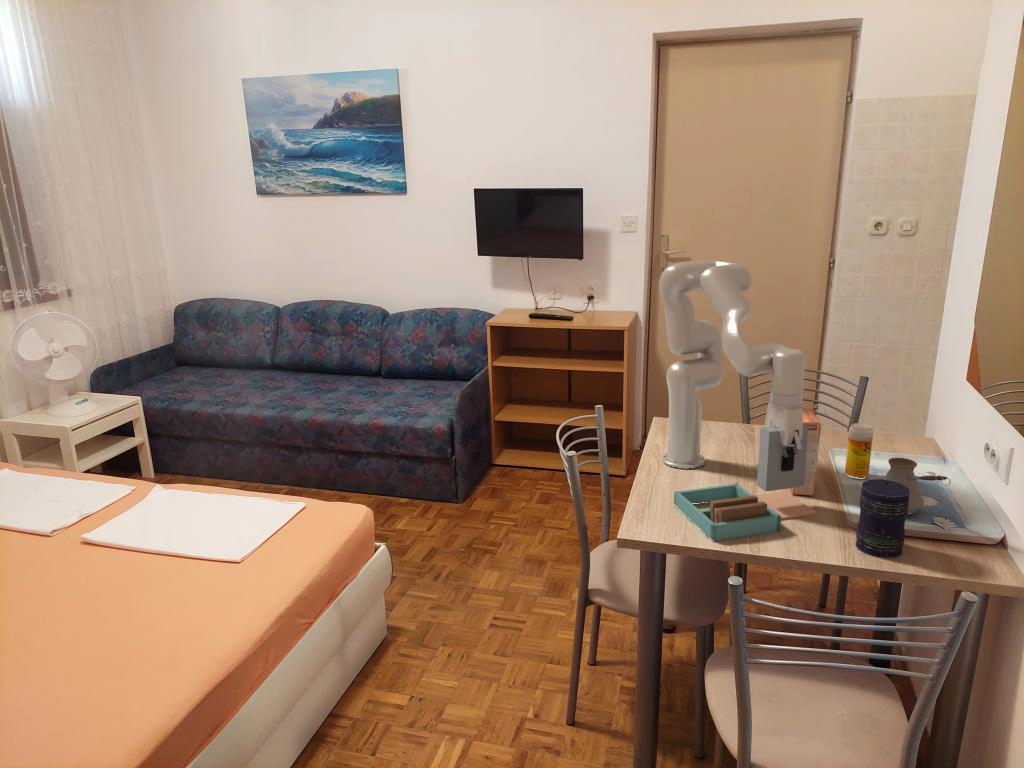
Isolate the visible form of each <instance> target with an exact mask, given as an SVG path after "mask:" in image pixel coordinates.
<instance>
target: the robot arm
mask: <svg viewBox="0 0 1024 768" xmlns="http://www.w3.org/2000/svg"><path fill="white" fill-rule="evenodd" d="M752 280H753V279H752V274H751V271H750V270H749V269H748V268H747V267H746V266H745V265H743V264H742V263H738V262H729V261H722V260H714V259H706V260H696V261H685V262H677V263H674V264H672V265H669V266H667V267H666V268H665V269H664V270H663V271H662V273H661V275H660V278H659V284H658V288H659V289H658V290H659V295H660V298H661V302H662V305H663V309H664V316H665V317H664V319H665V327H666V336H667V337H666V338H667V344H668V348H669V351H670V352H671V354H673V355H675V356H689V355H694V354H695V355H696V354H697V357H695V358H686V359H682V360H678V361H675V362H673V363H672V364H671V365H669V367H668V368H667V370H666V374H665V377H666V384H667V390H668V427H667V429H668V433H667V442H666V447H667V452H665V453H664V454H663V455H662V458H661V459H662V462H663V464H665V465H666V464H667V466H668V465H669V467H671V466H672V468H675V467H677V468H676V469H682V468H683V469H684V470H686V469H687V470H688V469H689V468H691V469H696V468H697V467H698V468H700V467H702V466H704V465H705V463H706V458H705V457H704V456H703V454H701V441H702V440H701V438H702V412H703V410H702V409H703V407H702V403H701V400H700V398H699V396H698V394H697V391H701V390H706V389H711V388H715V387H717V386H718V385H719V386H720V384H721V383H722V381H723V378H724V375H725V369H724V366H725V365H724V358H723V357H724V356H723V352H724V354H725V356H726V357H727V359H728V360H729V362H730V364H731V365H732V367H733V368H734V370H735V371H736V372H737V373H738V374H740V375H742V376H745V377H753V376H754V377H755V376H758V375H764V374H771V384H770V385H771V386H770V397H769V399H770V400H769V401H768V403H767V408H766V413H765V421H764V426H771V427H773V428H775V429H777V430H779V440H778V444H779V445H781V446H783V450H784V456H782V463H781V471H783V472H784V471H791V470H793V468H794V456H796V454H797V453H798V452H800V451H802V446H801V442H802V434H803V415H802V406H803V400H804V398H803V397H804V396H803V395H804V385H805V384H804V383H805V372H806V371H805V369H806V368H805V367H806V354H805V353H804V352H803V351H802V350H801V349H795V348H789V347H786V346H785V345H782V344H780V343H777V342H767V343H760V344H755V345H748V344H747V342H746V341H745V339H744V337H743V335H742V333H741V331H740V330H741V329H740V325H741V324H742V323H743V322H745V321H746V320H747V319H748V318H749V317H750V316H751V314H752V313H753V306H752V304H751V302H750V301H749V300H748V297H747V296H746V295H745V293H747V292H748V291H749V290H750V288H751V287H752V283H753V281H752ZM697 291H698V292H700V291H701V292H702V291H703V292H704V295H705V296H706V297H707V299H708V301H709V303H710V305H712V307H713V309H714V310H715V312H716V314H717V316H718V317H719V318H720V320H721V322H722V326H721V327H722V328H721V333H720V330H719V329H718V327H717V325H716V324H715V323H714V322H713V321H711V320H708V319H707V320H706V319H699V320H697V319H696V311H695V306H694V304H693V301H692V300H691V298H690V297H689V296H688V295H687V293H691V292H697ZM791 442H792V443H791ZM788 447H791V449H790V450H788ZM689 470H690V469H689Z"/></svg>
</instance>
